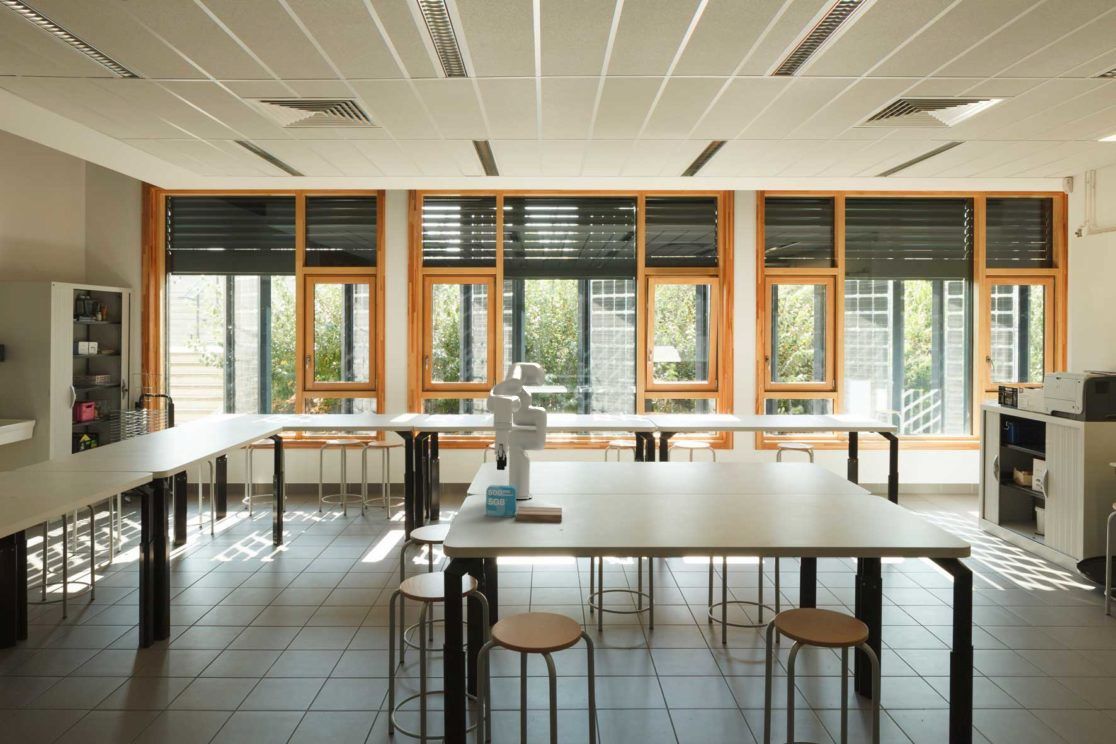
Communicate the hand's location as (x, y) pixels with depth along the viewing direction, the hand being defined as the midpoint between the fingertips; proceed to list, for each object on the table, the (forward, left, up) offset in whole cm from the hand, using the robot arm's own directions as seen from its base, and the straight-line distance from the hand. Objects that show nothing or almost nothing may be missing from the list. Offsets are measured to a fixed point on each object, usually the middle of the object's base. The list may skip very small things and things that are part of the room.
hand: (501, 468), depth 312 cm
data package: (0, 0, -20) cm, 20 cm away
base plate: (+4, +16, -20) cm, 25 cm away
